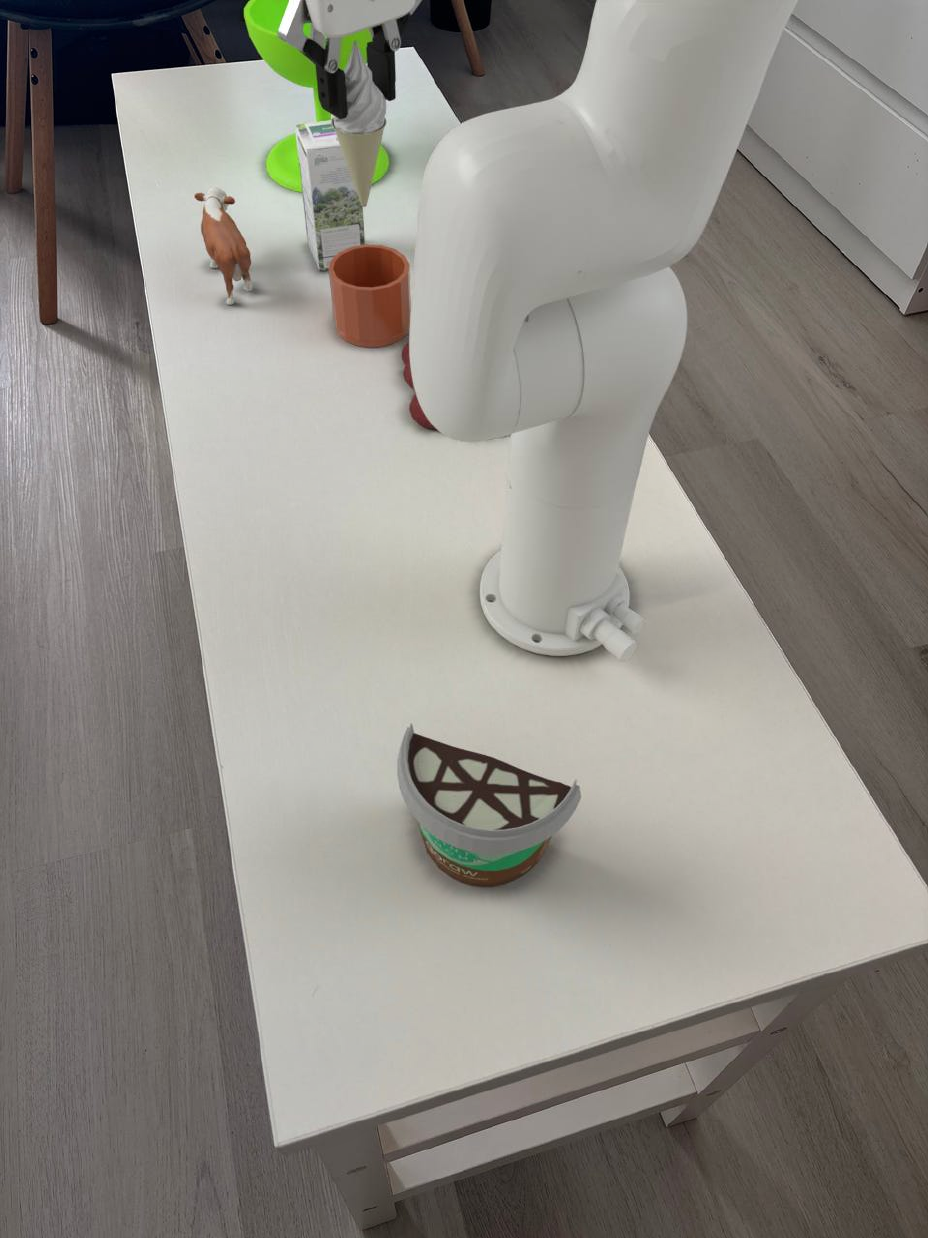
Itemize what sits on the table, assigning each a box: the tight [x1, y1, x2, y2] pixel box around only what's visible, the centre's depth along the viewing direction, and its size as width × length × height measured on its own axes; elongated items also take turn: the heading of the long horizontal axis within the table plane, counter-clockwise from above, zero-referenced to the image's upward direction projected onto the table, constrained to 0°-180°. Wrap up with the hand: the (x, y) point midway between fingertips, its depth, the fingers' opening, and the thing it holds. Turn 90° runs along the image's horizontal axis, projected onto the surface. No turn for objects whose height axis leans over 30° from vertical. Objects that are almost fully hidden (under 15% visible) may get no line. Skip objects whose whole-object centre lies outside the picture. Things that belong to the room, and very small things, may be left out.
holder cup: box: [328, 243, 412, 348], centre depth 103 cm, size 8×8×7 cm
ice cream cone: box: [331, 39, 387, 208], centre depth 89 cm, size 5×5×15 cm
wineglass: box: [243, 0, 390, 194], centre depth 120 cm, size 16×16×18 cm
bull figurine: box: [194, 186, 253, 306], centre depth 108 cm, size 4×13×8 cm, turn 18°
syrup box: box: [294, 119, 366, 272], centre depth 108 cm, size 6×6×14 cm
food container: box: [396, 722, 582, 888], centre depth 65 cm, size 12×6×10 cm, turn 69°
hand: (358, 101), depth 88 cm, fingers closed on ice cream cone, 4 cm apart
